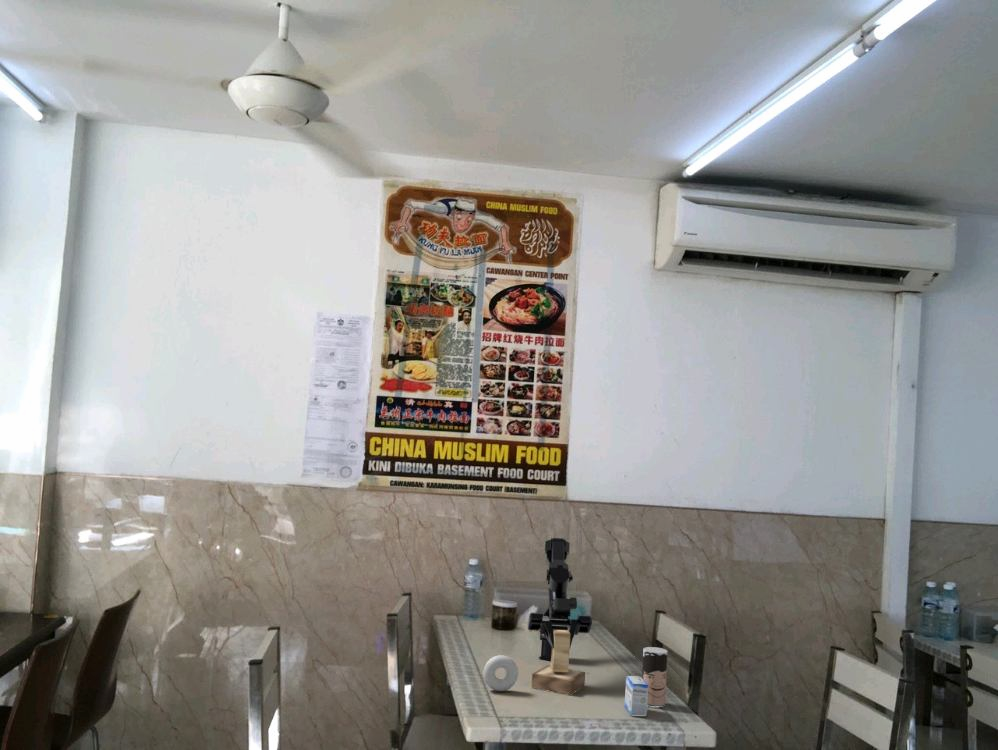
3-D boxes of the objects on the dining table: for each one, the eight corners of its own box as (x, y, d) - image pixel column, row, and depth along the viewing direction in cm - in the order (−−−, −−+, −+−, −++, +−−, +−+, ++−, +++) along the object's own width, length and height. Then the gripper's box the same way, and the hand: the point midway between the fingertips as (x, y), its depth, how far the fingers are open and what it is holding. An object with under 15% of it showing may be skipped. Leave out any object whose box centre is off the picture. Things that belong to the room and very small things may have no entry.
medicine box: (624, 707, 238) (625, 675, 239) (639, 708, 238) (641, 676, 239) (630, 716, 230) (632, 683, 231) (647, 717, 230) (648, 684, 231)
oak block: (550, 667, 256) (553, 629, 257) (565, 668, 256) (568, 630, 257) (552, 671, 251) (555, 633, 252) (568, 672, 252) (570, 633, 253)
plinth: (531, 687, 251) (532, 673, 251) (547, 678, 261) (547, 664, 262) (570, 695, 246) (571, 681, 246) (584, 685, 256) (585, 671, 257)
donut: (516, 690, 247) (518, 654, 248) (517, 693, 244) (520, 657, 245) (481, 688, 246) (483, 653, 247) (482, 692, 243) (484, 656, 244)
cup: (638, 705, 240) (641, 650, 241) (642, 699, 247) (645, 645, 248) (663, 709, 238) (666, 654, 239) (666, 703, 244) (668, 649, 246)
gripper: (531, 585, 259) (533, 631, 247) (592, 588, 260) (597, 634, 248) (526, 606, 266) (528, 652, 254) (586, 609, 267) (591, 655, 256)
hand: (561, 648), depth 253 cm, fingers closed on oak block, 4 cm apart
